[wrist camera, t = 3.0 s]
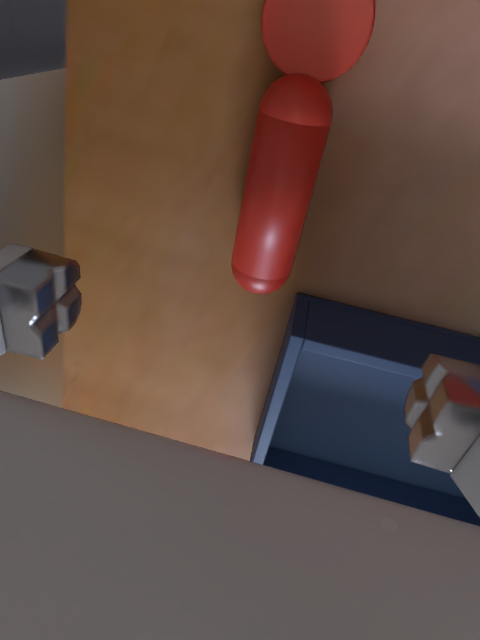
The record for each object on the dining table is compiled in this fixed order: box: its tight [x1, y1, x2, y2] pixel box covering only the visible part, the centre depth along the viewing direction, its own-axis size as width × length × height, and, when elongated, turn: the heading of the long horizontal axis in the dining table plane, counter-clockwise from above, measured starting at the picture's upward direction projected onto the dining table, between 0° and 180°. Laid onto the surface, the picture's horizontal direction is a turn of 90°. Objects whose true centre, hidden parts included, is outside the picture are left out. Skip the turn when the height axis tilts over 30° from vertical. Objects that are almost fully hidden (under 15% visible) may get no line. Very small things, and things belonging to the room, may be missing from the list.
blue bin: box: [250, 293, 480, 526], centre depth 22 cm, size 14×11×4 cm
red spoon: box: [231, 0, 375, 294], centre depth 16 cm, size 4×12×3 cm, turn 170°
